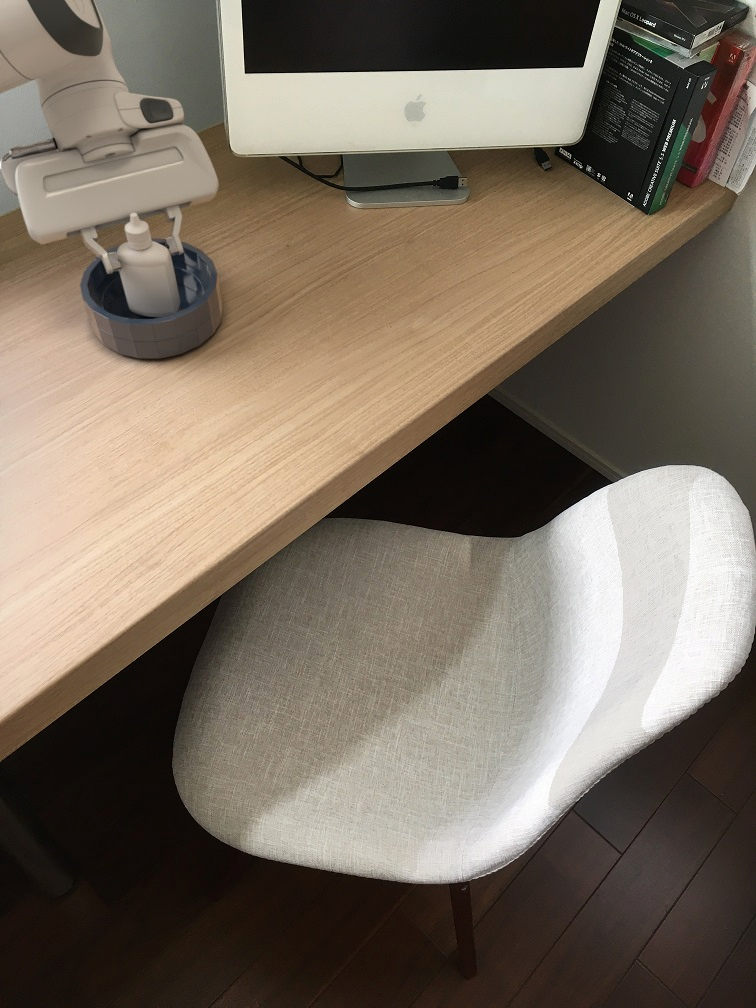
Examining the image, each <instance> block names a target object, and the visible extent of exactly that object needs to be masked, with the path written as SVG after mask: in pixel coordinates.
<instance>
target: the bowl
mask: <svg viewBox="0 0 756 1008" xmlns="http://www.w3.org/2000/svg"><path fill="white" fill-rule="evenodd" d="M151 239H152V241H154V242H157V243H159V244H161V245H163V246H165V245H164V242H163V241H164V240H165V238H151ZM181 244H182V247H183V251H184V252H183V253H182V254H180V255H176V256H172V257H171V258H172V263H173V268H174V273H175V277H176V282H177V287H178V292H179V297H180V306H179V309H178V312H177V313H175V314H173V315H170V316H165V317H148V316H143V315H139V314H136V313H134V312H132V311H131V310H130V309H129V306H128V303H127V299H126V295H125V292H124V288H123V284H122V280H121V276H120V273H119V271H118V272H115V273H111V274H107V272H106V269H105V267H104V264H103V262H102V259H101V258H99V257H98V256H96V257H95V258H94V259H93V260H92V261H91V262H90V264H88V266H87V268H86V269H85V270H84V271H83V273H82V276H81V280H80V284H79V289H80V292H81V297H82V301H83V303H84V307H85V310H86V313H87V316H88V319H89V321H90V325H91V329H92V331H93V334H94V335H95V337H96V338H97V339H98V340H99V341H100V342H101V344H102V345H103V346H105V347H107V348H108V349H110V350H112V351H114V352H116V353H117V354H119V355H123V356H126V357H131V358H135V359H164V358H165V359H166V358H169V357H174V356H179V355H181V354H184V353H186V352H188V351H191V350H193V349H196V348H198V347H199V346H201V345H202V344H203V343H204V342H206V341H207V340H208V339H209V338H210V337H212V336H213V335H214V334H215V332H216V330H217V328H218V327H219V325H220V324H221V322H222V317H223V301H222V294H221V287H220V281H219V273H218V271H217V268H216V266H215V263H214V261H213V260H212V258H210V256H209V255H208V254H206V252H204V251H203V250H202V249H200V248H198V247H196V246H194V245H192V244H190V243H188V242H184V241H181ZM120 245H121V244H118V245H116V246H113V247H111V248H109V249H106V250H105V251H106V252H107V253H112V252H116V253H117V250H118V248H119V246H120Z"/></svg>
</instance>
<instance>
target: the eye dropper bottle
mask: <svg viewBox="0 0 756 1008" xmlns="http://www.w3.org/2000/svg"><path fill="white" fill-rule="evenodd" d="M124 233H125V236H126V242H123V243H121V244H119V245H120V246H119V248H118V250H117V253H116V254H117V256H118V261H119V262H120V264H121V267H122V269H121V271H119V273H120V276H121V280H122V284H123V288H124V292H125V295H126V299H127V303H128V306H129V309H130V310H131V311H132V312H134V313H136V314H139V315H143V316H148V317H165V316H170V315H173V314H175V313H177V312H178V309H179V306H180V297H179V292H178V287H177V282H176V277H175V273H174V268H173V263H172V258H171V255H170V252H169V250H168V249H167V248H166V247H165V246H163V245H161V244H159V243H157V242H154V241H152V239H153V238H152V235H151V230H150V226H149V224H148V222H146V221H145V220H143V219H139V217H138V215H137V213H131V214H130V222H128V223H125V225H124Z"/></svg>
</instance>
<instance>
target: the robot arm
mask: <svg viewBox="0 0 756 1008" xmlns="http://www.w3.org/2000/svg"><path fill="white" fill-rule="evenodd" d="M113 52H114V51H113V45H112V41H111V38H110V35H109V32H108V30H107V27H106V25H105V22H104V19H103V17H102V14H101V13H100V10H99V7H98V5H97V3H96V1H95V0H0V94H3V93H5V92H9V91H10V90H13V89H16V88H17V87H20V86H23V85H25V84H28V83H30V82H32V81H35V84H36V87H37V90H38V95H39V104H40V108H41V111H42V113H43V115H44V118H45V121H46V124H47V126H48V128H49V132H50V135H51V138H48V139H45V140H40V141H36V142H32V143H30V144H26V145H16V146H12V147H11V148H9V149H8V152H7V153H5V154H4V155H3V156H2V157H1V159H0V175H1V177H2V179H3V182H4V184H5V187H6V188H7V189H8V191H9V192H11V193H12V194H13V195H15V196H17V198H18V199H17V200H18V203H19V207H20V211H21V214H22V219H23V221H24V224H25V227H26V230H27V233H28V235H29V238H30V239H32V240H33V241H34V242H36V243H37V244H40V245H46V244H49V243H54V242H58V241H61V240H65V239H66V240H67V239H69V238H74V237H78V236H80V237H81V239H82V242H83V244H84V247H86V248H87V249H88V250H90V251H91V252H92V253H93V254H94V255H95V256H96V257H99V258H101V259H102V262H103V264H104V267H105V269H106V272H107V274H111V273H115V272H118V271H121V269H122V267H121V264H120V262H119V261H118V256H117V254H116V252H112V253H107V252H106V251H107V250H106V249H104V247H102V246H101V245H100V244H99V243H98V238H99V235H98V233H97V231H100V230H105V229H108V228H112V227H117V226H119V225H123V224H127V223H128V222H130V214H131V213H137V215H138V217H139V219H140V220H144V219H147V218H150V217H154V216H158V215H163V216H164V218H165V221H166V222H167V223H168V224H170V223H172V226H171V232H170V236H169V237H165V238H164V239H165V240H164V241H163V242H164V245H165V247H166V248H167V249H168V250H169V252H170V255H171V257H172V256H176V255H180V254H182V253H183V252H184V251H183V247H182V244H181V242H182V241H181V239H180V236H179V235H180V233H181V226H182V221H183V213H182V211H181V210H182V209H186V208H190V207H194V206H197V205H201V204H205V203H209V202H211V201H212V200H213V199H214V198H215V197H216V195H217V192H218V190H219V187H220V182H219V179H218V176H217V173H216V170H215V168H214V165H213V162H212V161H211V158H210V156H209V153H208V152H207V150H206V148H205V146H204V144H203V142H202V140H201V138H200V136H199V135H198V134H197V132H195V130H193V129H192V128H191V127H189V126H188V125H185V124H184V121H185V113H184V108H183V105H182V104H181V102H180V101H178V100H177V99H175V98H170V97H162V96H153V95H146V94H138V93H133V92H130V90H129V88H128V85H127V83H126V81H125V79H124V77H123V76H122V75H121V73H120V72H119V70H118V68H117V66H116V63H115V60H114V59H115V58H114V53H113ZM10 158H11V159H10Z"/></svg>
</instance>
